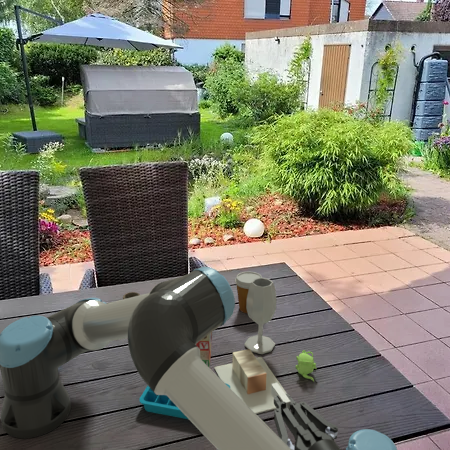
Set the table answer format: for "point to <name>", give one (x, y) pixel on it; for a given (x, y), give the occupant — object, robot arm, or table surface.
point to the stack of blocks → (205, 349)
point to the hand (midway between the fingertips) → (274, 388)
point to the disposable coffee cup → (244, 287)
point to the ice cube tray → (160, 404)
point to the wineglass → (261, 313)
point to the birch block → (249, 371)
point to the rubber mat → (254, 401)
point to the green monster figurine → (305, 364)
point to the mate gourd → (130, 295)
